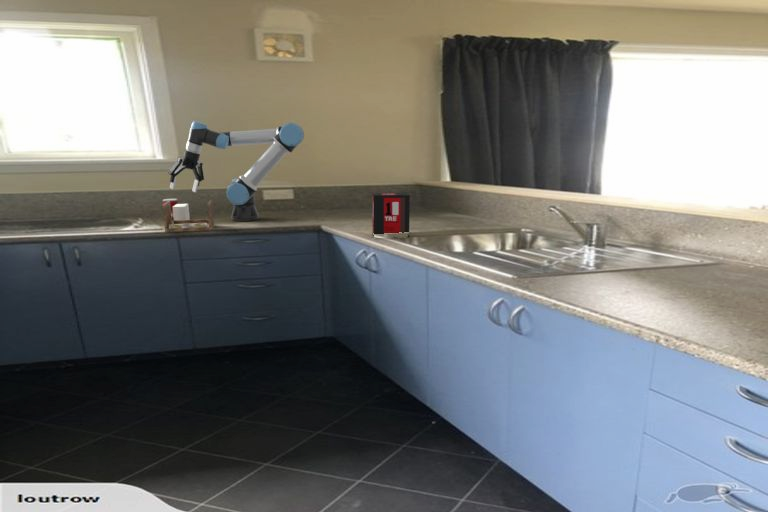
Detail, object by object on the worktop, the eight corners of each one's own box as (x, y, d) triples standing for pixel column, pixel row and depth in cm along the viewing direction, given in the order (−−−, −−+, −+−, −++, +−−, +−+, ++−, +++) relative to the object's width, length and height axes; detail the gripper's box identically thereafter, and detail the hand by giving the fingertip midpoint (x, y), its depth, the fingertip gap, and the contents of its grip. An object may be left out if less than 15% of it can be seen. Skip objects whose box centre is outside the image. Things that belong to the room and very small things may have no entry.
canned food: (181, 217, 293) (179, 198, 290) (174, 219, 285) (172, 200, 283) (169, 217, 294) (167, 198, 291) (162, 219, 286) (160, 200, 283)
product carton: (186, 225, 267) (184, 206, 265) (173, 225, 266) (172, 206, 264) (189, 221, 279) (188, 203, 276) (178, 221, 277) (176, 204, 275)
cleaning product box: (406, 234, 240) (407, 193, 236) (409, 238, 232) (409, 195, 227) (372, 235, 239) (372, 193, 234) (373, 238, 230) (373, 195, 226)
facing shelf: (214, 225, 265) (212, 200, 262) (211, 230, 252) (209, 203, 249) (170, 227, 261) (167, 201, 258) (164, 231, 248) (162, 204, 244)
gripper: (208, 153, 273) (198, 190, 277) (167, 144, 252) (157, 185, 256) (216, 157, 269) (206, 195, 273) (175, 148, 248) (165, 189, 252)
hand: (183, 190), depth 264 cm, fingers open, 13 cm apart
